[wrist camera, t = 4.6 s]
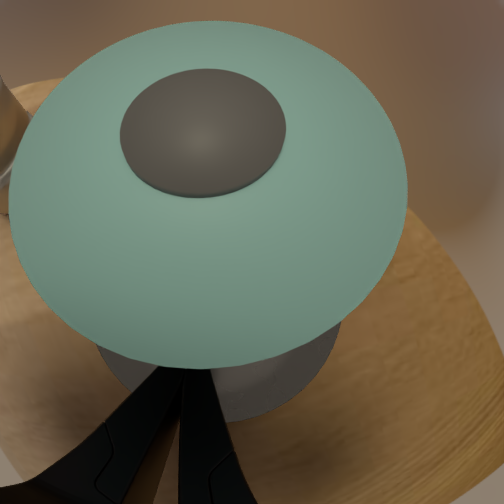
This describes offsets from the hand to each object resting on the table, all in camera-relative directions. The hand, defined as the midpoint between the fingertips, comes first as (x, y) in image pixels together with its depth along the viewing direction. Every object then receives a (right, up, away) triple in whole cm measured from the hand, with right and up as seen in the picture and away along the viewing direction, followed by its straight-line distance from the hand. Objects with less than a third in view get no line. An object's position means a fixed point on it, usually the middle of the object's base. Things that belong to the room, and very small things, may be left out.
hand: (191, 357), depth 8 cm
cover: (0, +2, +6) cm, 6 cm away
